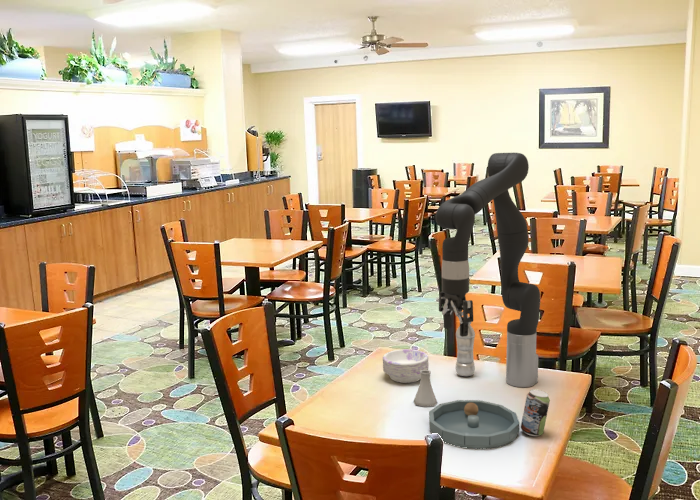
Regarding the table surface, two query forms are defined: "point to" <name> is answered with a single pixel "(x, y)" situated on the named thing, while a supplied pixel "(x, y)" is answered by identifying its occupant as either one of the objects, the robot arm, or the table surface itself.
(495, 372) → the table surface
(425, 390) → the flask
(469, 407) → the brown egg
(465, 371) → the plastic bottle
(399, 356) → the paper bowls
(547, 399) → the beverage can
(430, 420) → the tray
